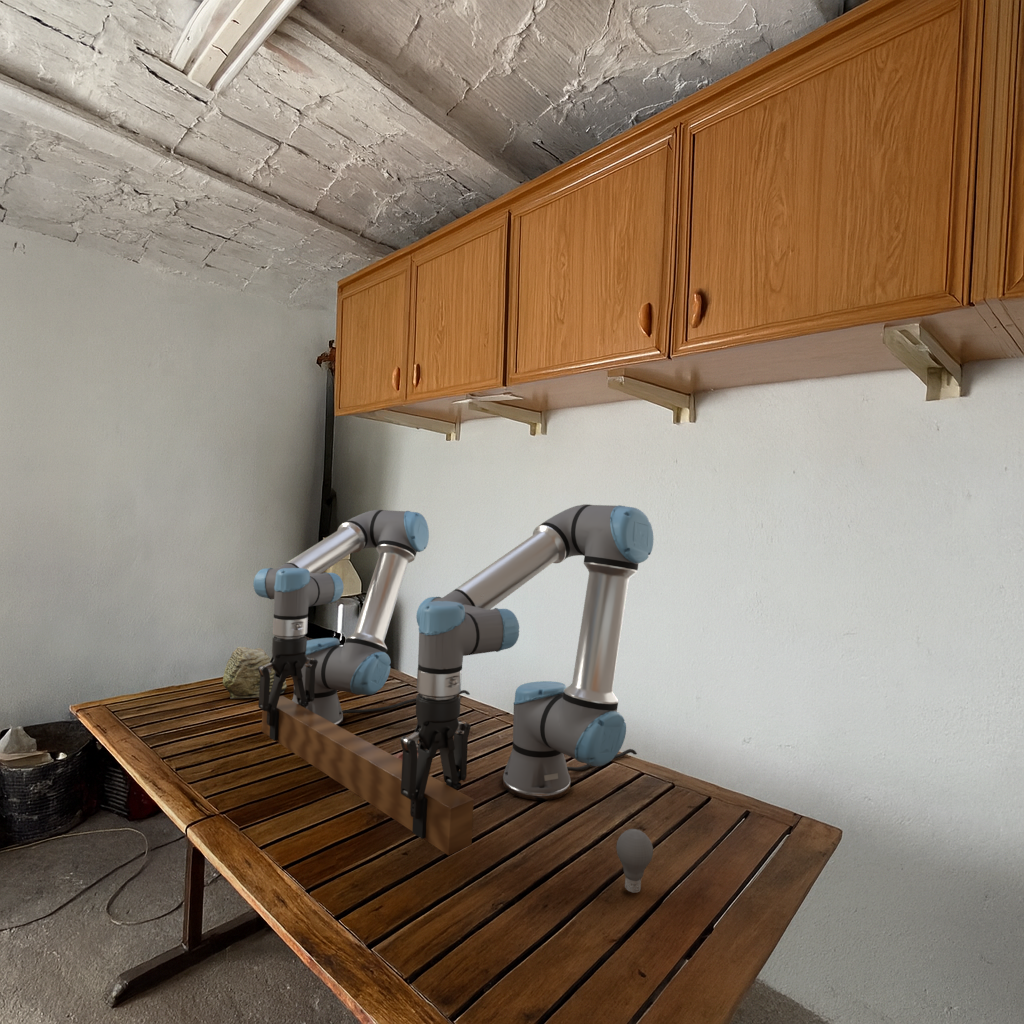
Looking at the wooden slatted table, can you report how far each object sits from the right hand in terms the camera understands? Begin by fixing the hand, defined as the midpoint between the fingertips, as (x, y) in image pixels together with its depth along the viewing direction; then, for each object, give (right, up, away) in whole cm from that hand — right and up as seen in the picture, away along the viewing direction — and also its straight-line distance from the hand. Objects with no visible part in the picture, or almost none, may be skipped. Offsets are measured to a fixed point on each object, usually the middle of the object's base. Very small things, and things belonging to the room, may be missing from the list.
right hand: (432, 829), depth 108 cm
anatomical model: (-15, -6, +40) cm, 43 cm away
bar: (-19, +1, +19) cm, 27 cm away
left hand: (-39, +2, +38) cm, 55 cm away
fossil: (-67, -3, +90) cm, 112 cm away
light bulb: (+34, -9, -2) cm, 35 cm away
